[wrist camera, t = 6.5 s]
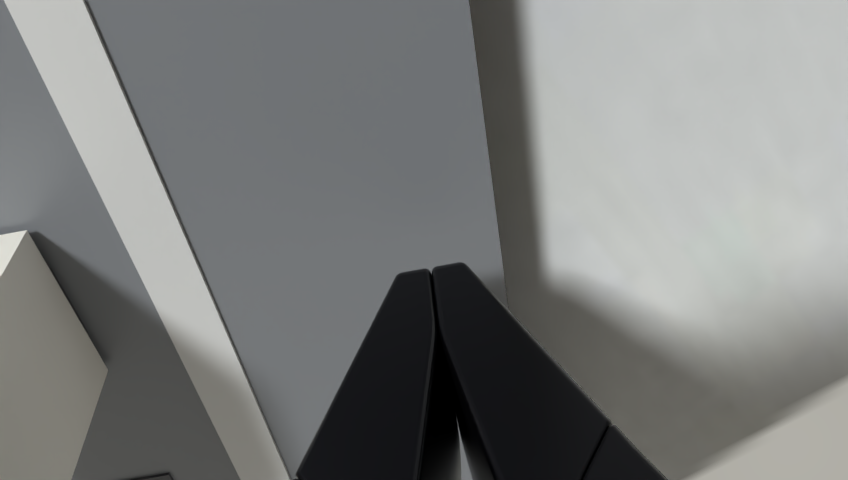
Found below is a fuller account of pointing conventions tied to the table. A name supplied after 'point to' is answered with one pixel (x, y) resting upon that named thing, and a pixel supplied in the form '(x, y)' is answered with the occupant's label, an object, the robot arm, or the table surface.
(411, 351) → the robot arm
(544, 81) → the table surface
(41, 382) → the orange patched ivory cube
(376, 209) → the panel
